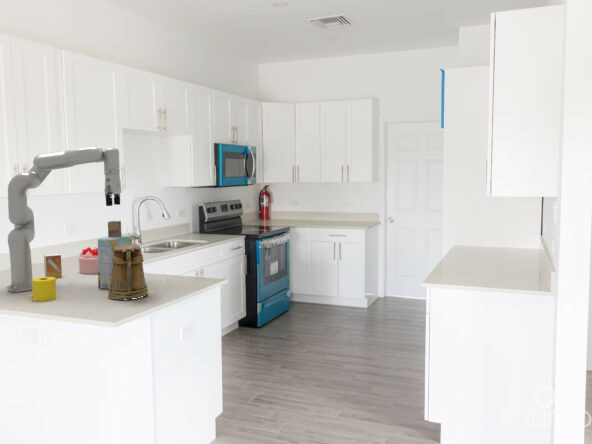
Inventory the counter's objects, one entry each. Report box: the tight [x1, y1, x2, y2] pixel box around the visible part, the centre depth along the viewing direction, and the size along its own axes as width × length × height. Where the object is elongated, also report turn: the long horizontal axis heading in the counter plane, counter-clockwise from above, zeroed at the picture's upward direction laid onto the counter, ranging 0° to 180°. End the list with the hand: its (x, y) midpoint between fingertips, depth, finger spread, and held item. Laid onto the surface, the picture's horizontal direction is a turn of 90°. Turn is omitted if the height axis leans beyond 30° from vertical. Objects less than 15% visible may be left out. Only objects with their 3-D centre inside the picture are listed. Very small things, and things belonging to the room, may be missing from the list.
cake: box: [78, 246, 98, 275], centre depth 317 cm, size 20×20×14 cm
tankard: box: [108, 243, 149, 301], centre depth 251 cm, size 18×24×25 cm
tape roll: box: [32, 276, 57, 302], centre depth 250 cm, size 10×10×9 cm
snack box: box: [97, 234, 133, 290], centre depth 278 cm, size 22×9×26 cm, turn 169°
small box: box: [43, 253, 63, 279], centre depth 299 cm, size 8×6×13 cm
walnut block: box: [107, 220, 122, 237], centre depth 277 cm, size 5×5×8 cm
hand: (113, 205), depth 276 cm, fingers open, 9 cm apart
